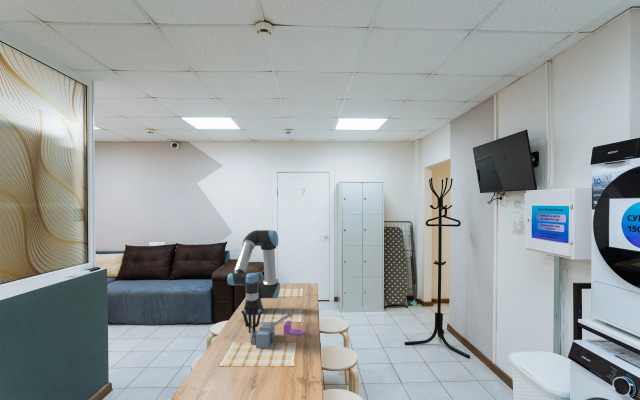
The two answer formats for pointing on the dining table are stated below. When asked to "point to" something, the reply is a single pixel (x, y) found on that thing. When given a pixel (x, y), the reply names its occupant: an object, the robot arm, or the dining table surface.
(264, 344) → the hitch block
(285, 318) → the latch bar
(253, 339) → the gray block
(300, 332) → the bracket
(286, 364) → the dining table surface
